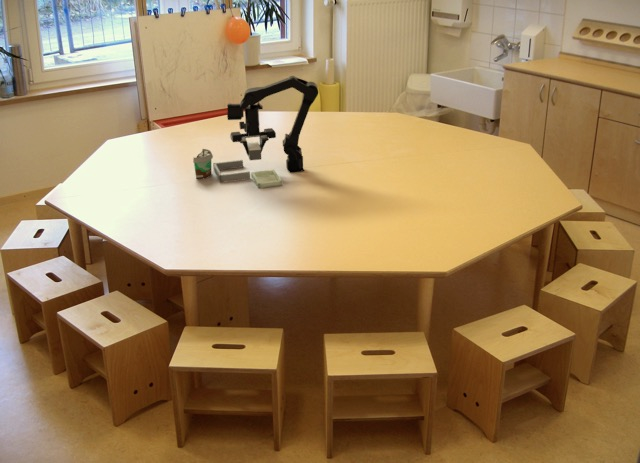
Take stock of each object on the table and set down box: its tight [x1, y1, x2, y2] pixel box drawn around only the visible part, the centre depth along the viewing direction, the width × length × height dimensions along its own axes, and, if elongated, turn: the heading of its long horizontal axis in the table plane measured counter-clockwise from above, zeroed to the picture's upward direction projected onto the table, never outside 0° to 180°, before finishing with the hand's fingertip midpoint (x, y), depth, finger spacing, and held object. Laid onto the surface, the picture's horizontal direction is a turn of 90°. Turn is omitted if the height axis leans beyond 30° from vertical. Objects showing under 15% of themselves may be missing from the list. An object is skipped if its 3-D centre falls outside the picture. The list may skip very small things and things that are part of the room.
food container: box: [192, 148, 214, 180], centre depth 326 cm, size 12×6×10 cm, turn 168°
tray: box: [250, 169, 283, 189], centre depth 321 cm, size 10×14×2 cm
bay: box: [212, 159, 251, 183], centre depth 329 cm, size 13×16×3 cm
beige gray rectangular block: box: [247, 141, 262, 161], centre depth 328 cm, size 5×9×5 cm, turn 12°
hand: (254, 154), depth 329 cm, fingers closed on beige gray rectangular block, 5 cm apart
